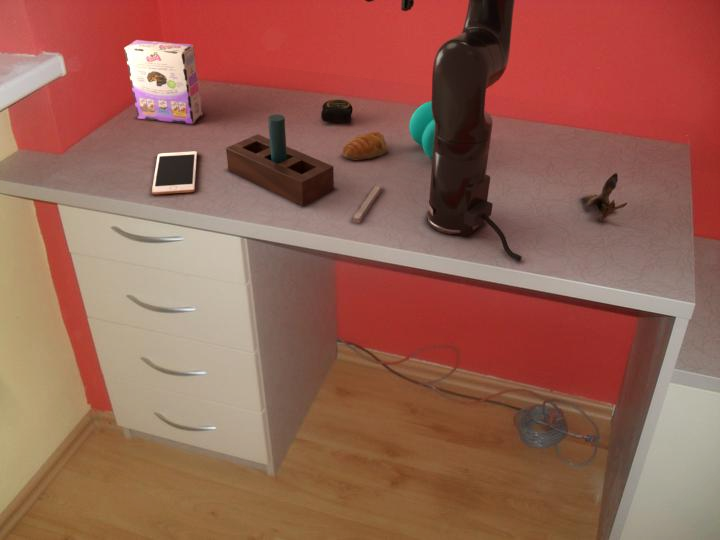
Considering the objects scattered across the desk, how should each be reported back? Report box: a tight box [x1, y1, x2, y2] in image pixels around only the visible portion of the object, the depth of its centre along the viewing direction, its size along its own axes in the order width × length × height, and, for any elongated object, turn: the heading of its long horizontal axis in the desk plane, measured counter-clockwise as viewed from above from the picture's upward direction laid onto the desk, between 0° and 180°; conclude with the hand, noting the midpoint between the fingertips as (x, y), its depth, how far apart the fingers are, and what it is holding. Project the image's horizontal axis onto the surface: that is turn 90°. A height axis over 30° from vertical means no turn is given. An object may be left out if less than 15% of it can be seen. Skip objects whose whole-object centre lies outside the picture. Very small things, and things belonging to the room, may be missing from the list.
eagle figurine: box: [580, 172, 628, 222], centre depth 127 cm, size 8×7×9 cm
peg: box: [267, 113, 287, 164], centre depth 133 cm, size 3×3×13 cm
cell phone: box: [151, 150, 198, 195], centre depth 138 cm, size 8×16×1 cm, turn 9°
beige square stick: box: [352, 185, 382, 224], centre depth 129 cm, size 12×1×1 cm, turn 160°
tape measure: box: [320, 98, 353, 124], centre depth 159 cm, size 7×7×4 cm
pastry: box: [342, 130, 389, 161], centre depth 146 cm, size 9×7×4 cm
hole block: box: [225, 133, 335, 207], centre depth 136 cm, size 8×21×5 cm, turn 49°
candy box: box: [123, 39, 203, 125], centre depth 156 cm, size 14×6×16 cm, turn 77°
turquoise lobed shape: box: [408, 100, 435, 160], centre depth 144 cm, size 10×10×10 cm
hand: (388, 5), depth 129 cm, fingers open, 8 cm apart
